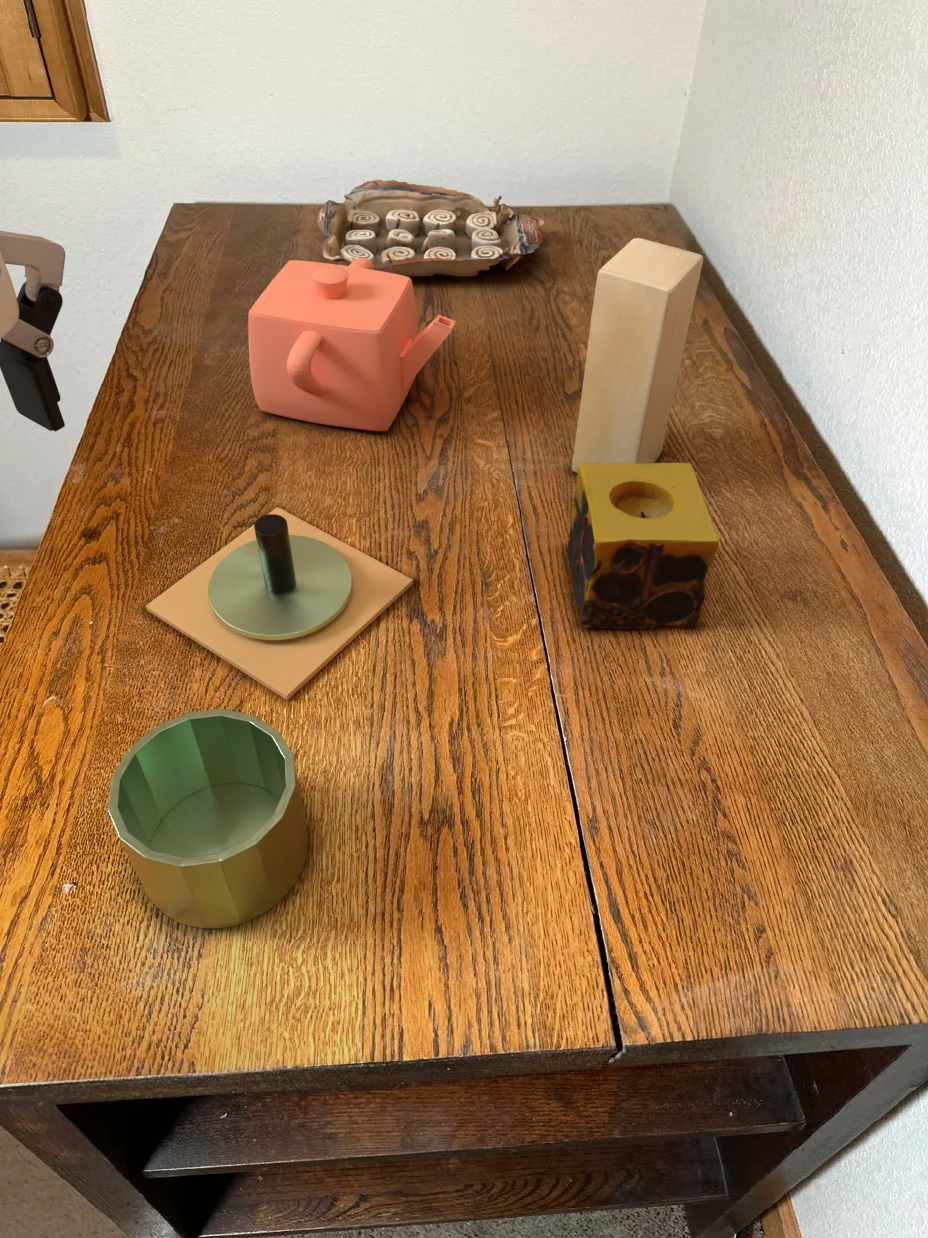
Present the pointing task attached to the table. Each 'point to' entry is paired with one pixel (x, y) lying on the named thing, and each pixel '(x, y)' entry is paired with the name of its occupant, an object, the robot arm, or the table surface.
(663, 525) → the candle
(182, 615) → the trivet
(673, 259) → the tall beige wooden block
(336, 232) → the baking tray
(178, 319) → the table surface
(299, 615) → the lid
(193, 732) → the pot
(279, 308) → the teapot
